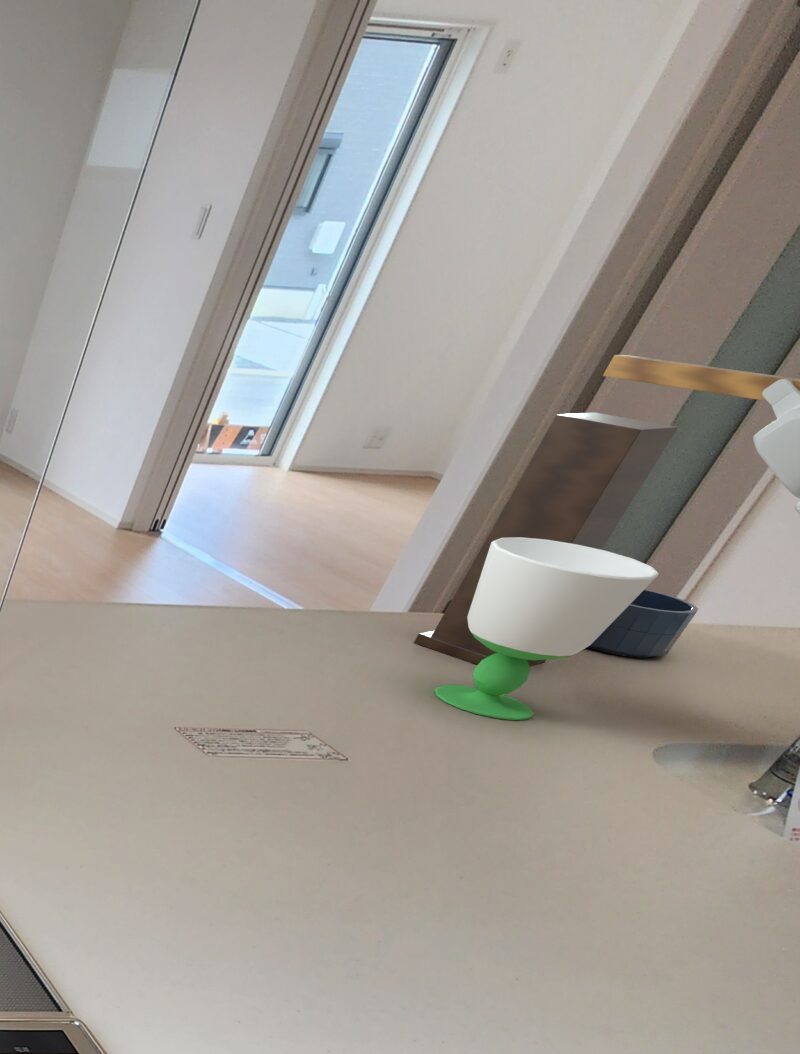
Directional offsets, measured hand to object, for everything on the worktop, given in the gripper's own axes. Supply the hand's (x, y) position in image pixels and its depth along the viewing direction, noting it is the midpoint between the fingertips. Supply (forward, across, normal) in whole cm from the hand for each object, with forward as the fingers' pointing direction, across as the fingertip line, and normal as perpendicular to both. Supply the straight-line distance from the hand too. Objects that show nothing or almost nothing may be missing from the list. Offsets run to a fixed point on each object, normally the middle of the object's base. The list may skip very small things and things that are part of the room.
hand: (782, 384), depth 107 cm
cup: (-15, +18, +28) cm, 36 cm away
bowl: (-9, -22, +31) cm, 39 cm away
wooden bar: (+4, 0, +4) cm, 5 cm away
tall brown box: (-6, 0, +33) cm, 33 cm away
